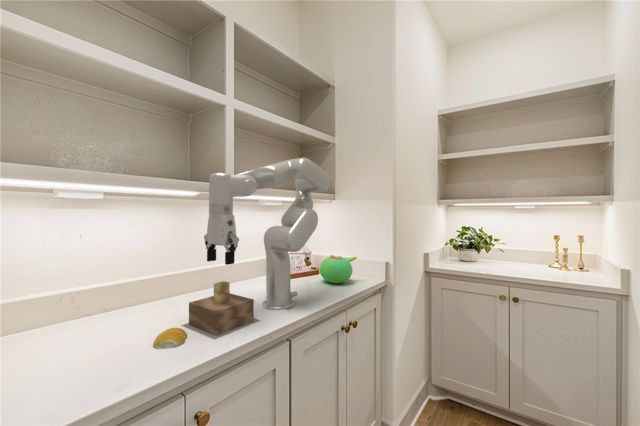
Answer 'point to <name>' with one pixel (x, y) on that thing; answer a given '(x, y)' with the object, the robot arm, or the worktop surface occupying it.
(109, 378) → the worktop surface
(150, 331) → the worktop surface
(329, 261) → the green rounded piece
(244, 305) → the square lid with knob
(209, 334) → the rubber mat
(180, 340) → the bread roll
